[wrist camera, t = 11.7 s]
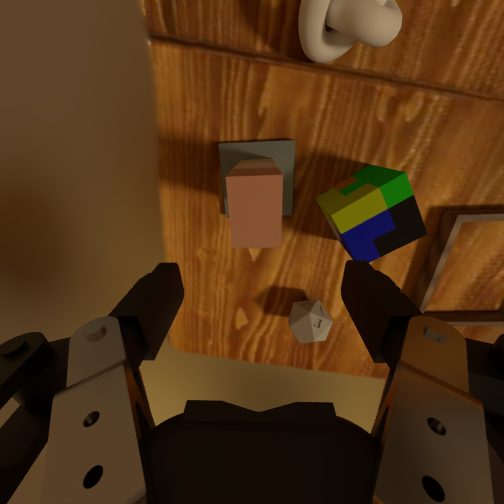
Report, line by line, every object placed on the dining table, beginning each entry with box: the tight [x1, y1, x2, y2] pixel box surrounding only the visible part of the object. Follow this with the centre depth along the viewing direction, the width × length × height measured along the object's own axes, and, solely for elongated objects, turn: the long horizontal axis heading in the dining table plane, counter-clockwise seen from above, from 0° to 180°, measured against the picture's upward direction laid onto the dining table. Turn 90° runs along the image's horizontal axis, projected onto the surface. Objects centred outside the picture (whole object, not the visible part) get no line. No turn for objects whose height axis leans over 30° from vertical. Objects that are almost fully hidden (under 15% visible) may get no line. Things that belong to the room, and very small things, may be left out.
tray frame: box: [411, 208, 504, 326], centre depth 42 cm, size 25×23×3 cm
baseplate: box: [218, 140, 295, 217], centre depth 37 cm, size 12×12×1 cm
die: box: [288, 299, 333, 343], centre depth 45 cm, size 8×9×10 cm
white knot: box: [298, 0, 402, 63], centre depth 24 cm, size 11×12×9 cm
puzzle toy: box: [315, 165, 427, 263], centre depth 34 cm, size 10×10×10 cm
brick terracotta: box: [226, 167, 283, 248], centre depth 23 cm, size 7×5×6 cm
